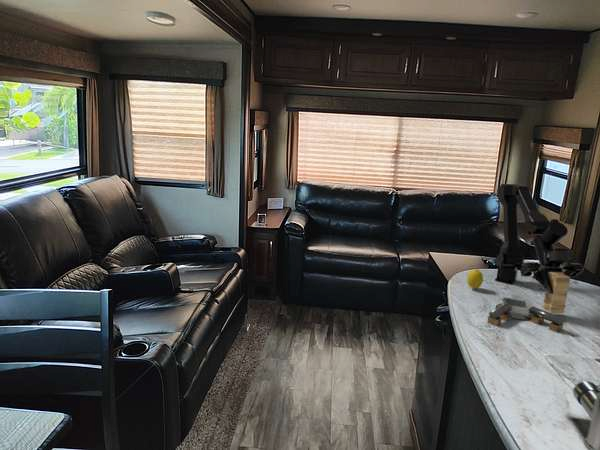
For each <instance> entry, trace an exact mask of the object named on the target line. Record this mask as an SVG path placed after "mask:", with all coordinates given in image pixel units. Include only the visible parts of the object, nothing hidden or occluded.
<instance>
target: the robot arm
mask: <svg viewBox="0 0 600 450" xmlns="http://www.w3.org/2000/svg"><path fill="white" fill-rule="evenodd" d="M496 192H497V193H496V194H497V196H498V201H499V202H500V204H501V205H502V207H503V213H502V214H503V236H504V237H503V240H504V242H503V243H502V245H501V247H500V249H499V254H498V255H497V256H496V257H495V258H494V265H495V266H497V273H496V278H494V280H495V281H497V282H501V283H505V284H509V285H513V283H515V282H516V281H517V280H518V279H517V277H518V273H519V272H518V270H517V269H518V268H520V276H521V277H531V276H532V275H533V276H532V277H531V278H532V279H533V280H536V281H537V282H538V284H540V285H541V286H542V287H543V288H544V289H545V291H546V290H547V291H548V292H549V293H550V294H552V293H553V289H552V286H551V283H550V279H549V273H563V274H565V275H567V276H569V277H570V278H576V277H577V276H579V275H580V274H582V273H583V272H584V271H585V268H584V265H583V264H581V263H579V262H570V260H572V259H574V258H575V252H574V250H573V248H567V249H565V248H564V250H558V249H555V246H554V245H557V244H558V243H559V242H560V241H561V240H562V239H563V238H564V237H566V236H567V235H568V232H569V231H568V227H566V225H565V224H564V223H561V222H559V219H556V218H554V219H553V218H552V219H551V220H549V219H548V218H547V216H546V215H545V214H543V213H541V212H540V211H539V208H538V207H537V205H536V203H535V201H534V199H533V197H532V195H531V193H530V187H529V186H528V185H521V184H518V183H501V184H500V185H499V186H498V187H497V191H496ZM518 205H519V207H520V210H521V212H522V213H523V216H524V222H523V226H524V230H525V232H526V234H527V235H530V236H533V235H534V237H533V238H532V240H531V241H530V246H534V249H535V253H536V256H535V262H534V261H528V262H527V261H526V262H525V264H524V265H523V263H524V260H525V253H524V252H525V251H524V250H525V248H524V246H523V245H521V244H520V242H519V240H518V239H519V235H518V233H519V232H518V231H519V230H518ZM537 261H538V262H537ZM566 261H567V262H569V263H568V264H567V265H565V266H562V265H564V264H565V262H566Z"/></svg>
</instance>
